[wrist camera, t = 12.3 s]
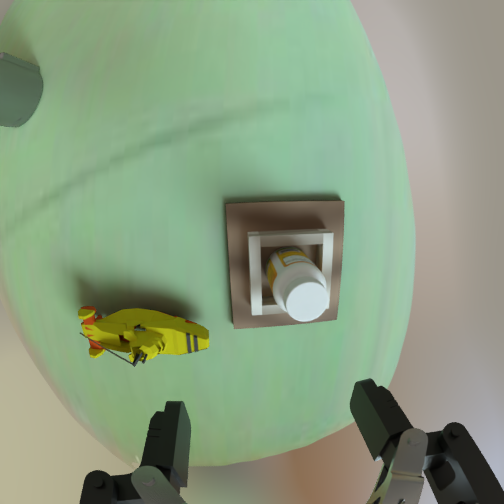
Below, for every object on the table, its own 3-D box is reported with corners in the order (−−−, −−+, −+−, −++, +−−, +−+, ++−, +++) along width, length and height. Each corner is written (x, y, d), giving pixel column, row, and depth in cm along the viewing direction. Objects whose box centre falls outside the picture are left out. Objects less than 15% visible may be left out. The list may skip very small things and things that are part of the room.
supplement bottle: (286, 296, 34) (304, 338, 24) (255, 268, 32) (264, 305, 23) (317, 266, 33) (347, 299, 24) (288, 236, 32) (310, 261, 22)
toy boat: (88, 295, 33) (53, 330, 24) (210, 301, 35) (203, 346, 25) (97, 333, 35) (69, 373, 25) (212, 342, 36) (207, 391, 27)
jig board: (226, 203, 31) (225, 206, 28) (341, 200, 32) (352, 203, 29) (233, 325, 36) (234, 339, 32) (334, 316, 36) (342, 328, 33)
